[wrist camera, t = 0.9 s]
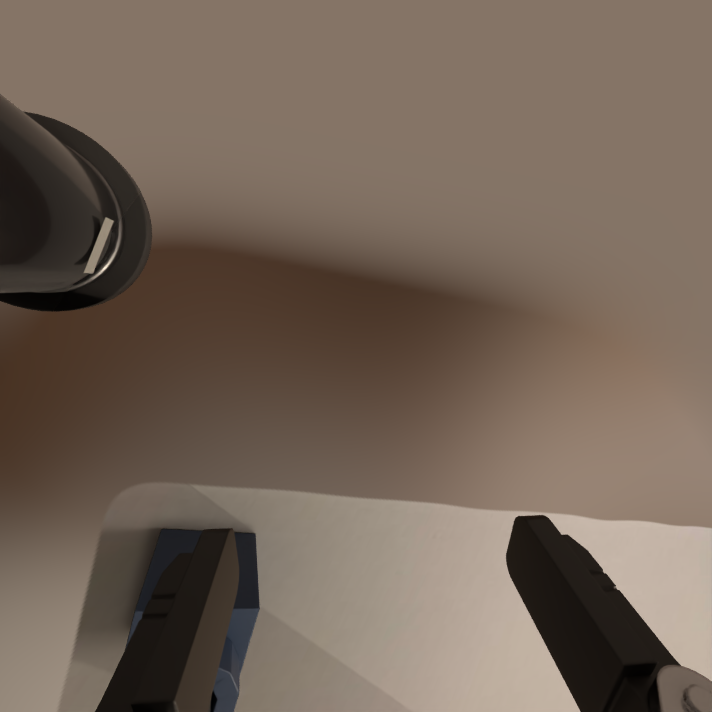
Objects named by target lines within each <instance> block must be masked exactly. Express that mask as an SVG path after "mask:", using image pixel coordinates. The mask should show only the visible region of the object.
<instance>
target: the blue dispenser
mask: <svg viewBox="0 0 712 712" xmlns="http://www.w3.org/2000/svg"><path fill="white" fill-rule="evenodd" d="M201 533H202V531H193V530H173V529H162V530H161V532H160V535H159V538H158V542H157V545H156V548H155V551H154V554H153V557H152V560H151V563H150V566H149V569H148V572H147V575H146V578H145V582H144V585H143V588H142V591H141V594H140V597H139V600H138V603H137V606H136V609H135V612H134V616H133V620H132V624H131V628H130V632H129V636H128V640H127V644H126V647H127V645H128V643H129V641H130V639H131V637H132V635H133V633H134V631H135V629H136V626H137V624H138V622H139V620H141V619H142V614H143V612H144V610H145V608H146V605H147V603H148V601H149V600H151V595H152V593H153V591H154V589H155V587H156V585H157V582H158V580H159V578H160V576H161V574H162V572H163V571H164V570H165V569H166V568H167V567H168V566H169V564H170V563H171V562H172V561H173V560H174V559H175V558H176V557H177V556H178V554H179V553H193V551H194V549H195V546H196V544H197V542H198V539H199V537H200V535H201ZM234 534H235V541H236V548H237V556H238V563H239V583H238V590H237V595H236V599H235V603H234V607H233V611H232V615H231V619H230V623H229V627H228V631H227V635H226V639H225V644H224V648H223V652H222V656H221V660H220V664H219V668H218V672H217V676H216V680H215V684H214V688H213V692H212V696H211V707H210V712H234V709H235V705H236V702H237V699H238V695H239V676H240V673H241V670H242V666H243V663H244V659H245V656H246V653H247V649H248V646H249V643H250V639H251V636H252V632H253V629H254V626H255V622H256V619H257V616H258V612H259V609H260V607H259V589H258V571H257V553H256V535H255V534H253V533H234ZM125 650H126V648H125Z"/></svg>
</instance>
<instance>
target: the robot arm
mask: <svg viewBox="0 0 712 712" xmlns="http://www.w3.org/2000/svg"><path fill="white" fill-rule="evenodd" d="M124 241H125V218H124V214H123V210H122V207H121V204H120V202H119V199H118V197H117V195H116V193H115V191H114V190H113V188H112V187H111V185H110V184H109V182H108V181H107V180H106V178H105V177H104V176H103V175H102V174H101V173H100V171H99V170H98V169H97V168H96V167H94V166H93V165H92V164H91V163H90V162H89V161H88V160H86V159H85V158H84V157H82V156H81V155H80V154H79V153H77V152H76V151H75V150H73V149H72V148H70V147H69V146H67V145H65V144H63V143H62V142H61V141H60V140H58V139H57V138H56V137H55V136H53V135H52V134H51V133H50V132H48V131H47V130H46V129H44V128H43V127H42V126H41V125H39V124H38V123H37V122H35V121H34V120H33V119H32V118H30V117H29V116H28V115H26V114H25V113H24V112H23V111H21V110H20V109H19V108H17V107H16V106H15V105H14V104H12V103H11V102H10V101H8V100H7V99H6V98H5V97H3V96H2V95H1V94H0V293H13V292H37V293H52V292H65V291H71V290H75V289H79V288H82V287H85V286H87V285H89V284H92V283H94V282H95V281H97V280H99V279H100V278H101V277H103V276H104V275H105V274H106V273H107V272H108V271H109V270H110V269H111V268H112V267H113V266H114V264H115V263H116V261H117V260H118V258H119V256H120V254H121V251H122V249H123V245H124ZM506 562H507V567H508V571H509V574H510V577H511V579H512V581H513V583H514V585H515V587H516V589H517V590H518V592H519V594H520V596H521V598H522V600H523V602H524V604H525V606H526V608H527V610H528V612H529V613H530V615H531V617H532V619H533V621H534V623H535V625H536V627H537V629H538V631H539V633H540V635H541V636H542V638H543V640H544V642H545V644H546V646H547V648H548V650H549V652H550V654H551V656H552V658H553V659H554V661H555V663H556V665H557V667H558V669H559V671H560V673H561V675H562V677H563V679H564V681H565V682H566V684H567V686H568V688H569V690H570V692H571V694H572V696H573V698H574V700H575V702H576V704H577V705H578V707H579V709H580V711H581V712H712V681H710V680H709V679H707V678H706V677H704V676H703V675H701V674H699V673H697V672H696V671H693V670H691V669H689V668H686V667H683V666H681V665H680V664H679V663H678V662H677V661H676V660H675V659H674V657H673V656H672V655H671V654H670V653H669V651H668V650H667V649H666V648H665V646H664V645H663V644H662V643H661V641H660V640H659V639H658V638H657V636H656V635H655V634H654V633H653V632H652V630H651V629H650V628H649V627H648V625H647V624H646V623H645V622H644V620H643V619H642V618H641V617H640V615H639V614H638V613H637V612H636V610H635V609H634V608H633V607H632V605H631V604H630V603H629V602H628V600H627V599H626V598H625V597H624V595H623V594H622V593H621V592H620V590H617V589H616V585H615V584H614V583H613V582H612V580H611V579H610V578H609V577H608V575H607V574H606V573H605V574H604V573H603V569H602V568H601V567H600V565H599V564H598V563H597V562H596V560H595V559H594V558H593V557H592V555H591V554H590V553H589V552H588V550H586V549H585V548H584V547H583V546H581V545H580V544H579V543H578V542H576V541H575V540H574V539H572V538H571V537H570V536H569V535H561V534H560V532H559V531H558V530H557V528H556V527H555V526H554V524H553V523H552V522H551V520H550V519H549V518H548V517H546V516H544V515H535V516H518V517H516V518H515V521H514V524H513V529H512V533H511V537H510V541H509V545H508V549H507V553H506ZM238 583H239V563H238V556H237V548H236V541H235V534H234V530H233V529H232V528H229V529H207V530H203V531H202V533H201V535H200V537H199V539H198V542H197V544H196V546H195V549H194V551H193V553H179V554H178V556H177V557H176V558H175V559H174V560H173V561H172V562H171V563H170V564H169V566H168V567H167V568H166V569H165V570H164V571H163V572H162V574H161V576H160V578H159V580H158V582H157V585H156V587H155V589H154V591H153V593H152V595H151V600H149V601H148V603H147V605H146V608H145V610H144V612H143V614H142V619H141V620H139V622H138V624H137V626H136V629H135V631H134V633H133V635H132V637H131V639H130V641H129V643H128V645H127V647H126V650H125V652H124V654H123V656H122V658H121V660H120V662H119V664H118V666H117V668H116V670H115V673H114V675H113V677H112V679H111V681H110V683H109V685H108V687H107V689H106V691H105V694H104V696H103V698H102V700H101V702H100V704H99V705H98V707H97V709H96V711H95V712H208V708H209V704H210V700H211V696H212V692H213V688H214V684H215V680H216V676H217V672H218V668H219V664H220V660H221V656H222V652H223V648H224V644H225V639H226V635H227V631H228V627H229V623H230V619H231V615H232V611H233V607H234V603H235V599H236V595H237V590H238Z"/></svg>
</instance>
